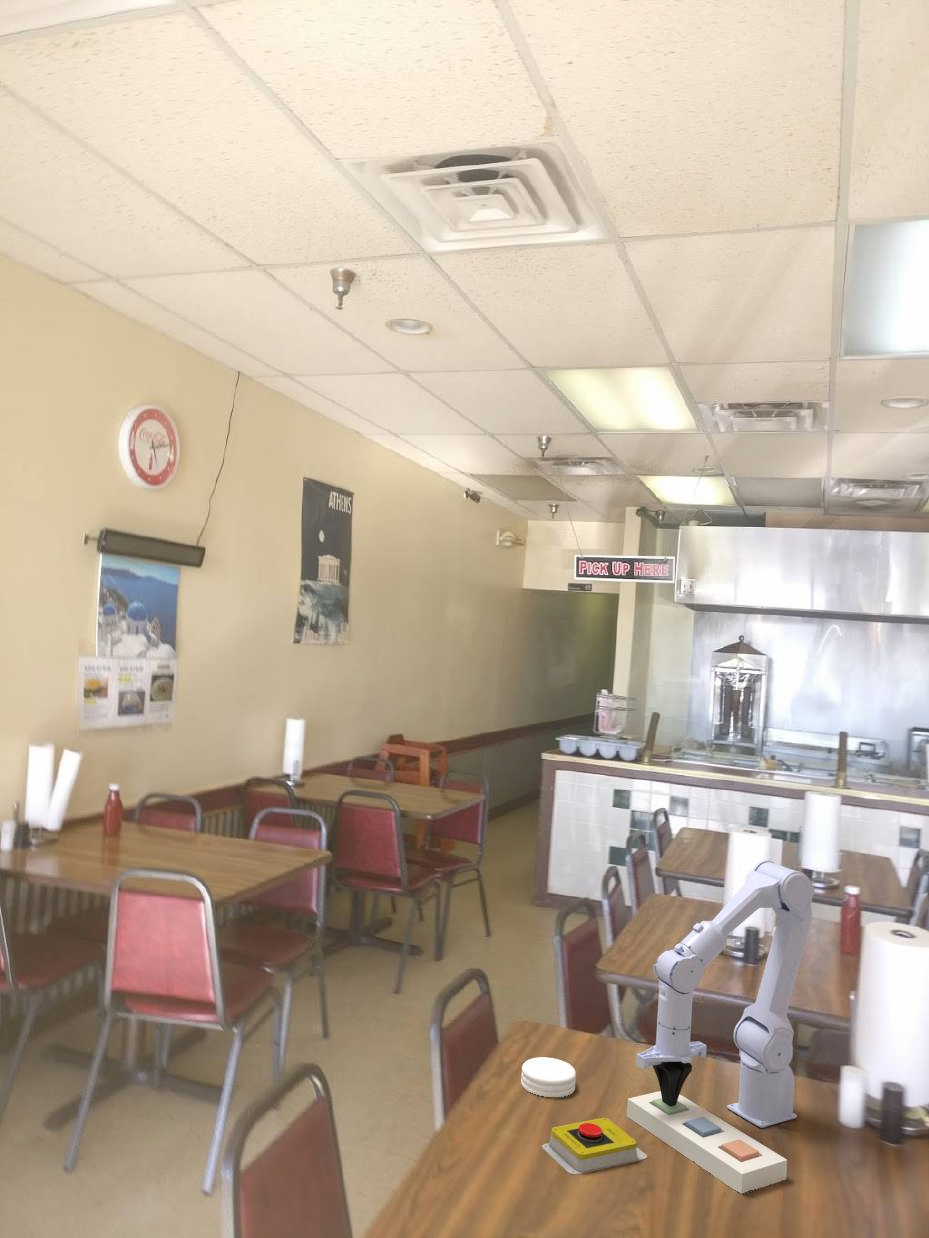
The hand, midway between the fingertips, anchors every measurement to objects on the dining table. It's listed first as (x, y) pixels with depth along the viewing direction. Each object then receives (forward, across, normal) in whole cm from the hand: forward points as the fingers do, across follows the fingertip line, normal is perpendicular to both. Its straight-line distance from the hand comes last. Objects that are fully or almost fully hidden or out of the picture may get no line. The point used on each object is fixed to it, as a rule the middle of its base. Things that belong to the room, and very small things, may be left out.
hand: (669, 1103), depth 163 cm
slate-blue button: (+3, 0, -8) cm, 9 cm away
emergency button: (+4, -18, -2) cm, 19 cm away
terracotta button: (+3, 0, -16) cm, 16 cm away
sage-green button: (+3, 0, 0) cm, 3 cm away
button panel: (+3, 0, -8) cm, 9 cm away
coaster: (+4, -11, +20) cm, 23 cm away
